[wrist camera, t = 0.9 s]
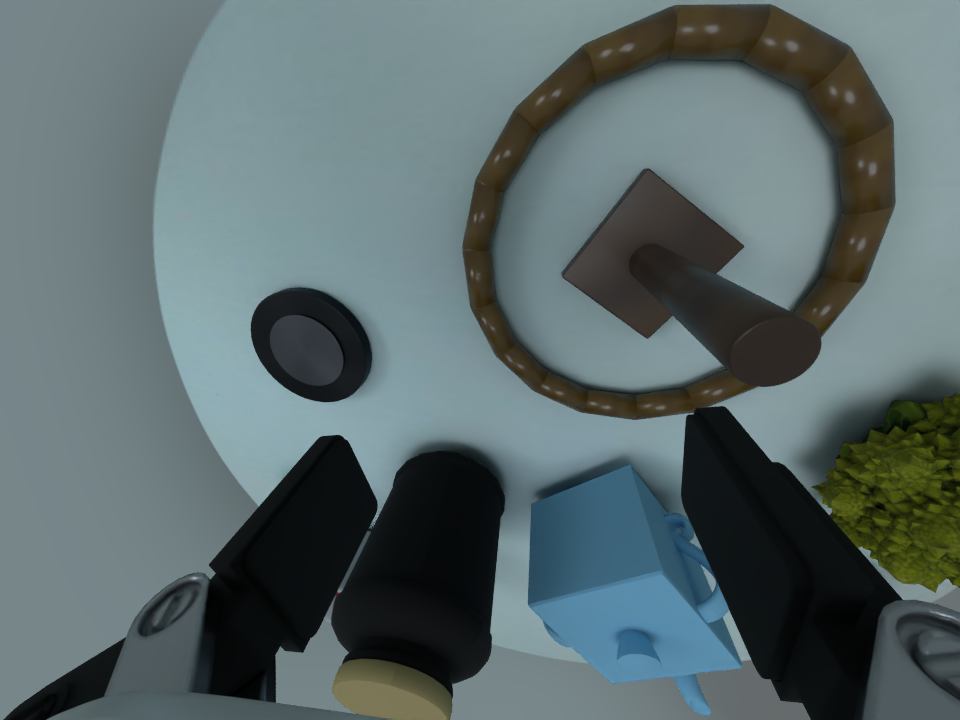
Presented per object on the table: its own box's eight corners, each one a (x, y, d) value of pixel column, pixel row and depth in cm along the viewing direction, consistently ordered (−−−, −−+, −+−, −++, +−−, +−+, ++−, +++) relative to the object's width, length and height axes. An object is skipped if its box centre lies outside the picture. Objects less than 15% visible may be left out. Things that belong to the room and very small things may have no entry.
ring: (410, 300, 28) (401, 308, 26) (646, -121, 16) (659, -159, 14) (642, 456, 31) (648, 472, 29) (983, 200, 19) (1028, 202, 17)
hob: (248, 355, 33) (237, 361, 32) (277, 261, 28) (265, 264, 27) (346, 414, 35) (339, 422, 33) (391, 335, 29) (384, 341, 28)
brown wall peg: (560, 273, 25) (581, 372, 12) (644, 168, 21) (813, 138, 8) (644, 334, 26) (749, 488, 13) (737, 244, 22) (1025, 329, 9)
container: (497, 531, 39) (466, 766, 23) (398, 505, 40) (302, 714, 24) (521, 455, 33) (501, 699, 17) (404, 426, 34) (285, 634, 18)
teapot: (512, 499, 36) (497, 642, 25) (652, 440, 30) (719, 595, 19) (600, 591, 41) (622, 747, 30) (738, 557, 35) (832, 738, 23)
